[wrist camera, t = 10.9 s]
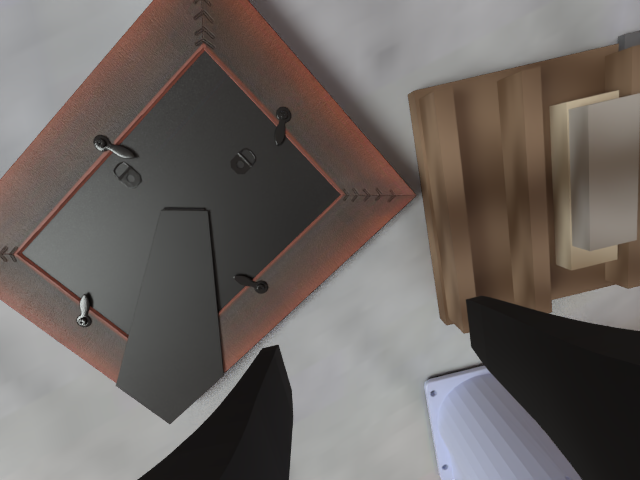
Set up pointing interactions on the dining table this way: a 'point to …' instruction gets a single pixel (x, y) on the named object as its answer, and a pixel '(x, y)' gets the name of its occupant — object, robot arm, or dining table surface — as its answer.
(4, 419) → the dining table surface
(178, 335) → the picture frame
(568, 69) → the walnut rack
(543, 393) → the robot arm
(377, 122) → the dining table surface
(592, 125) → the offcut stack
